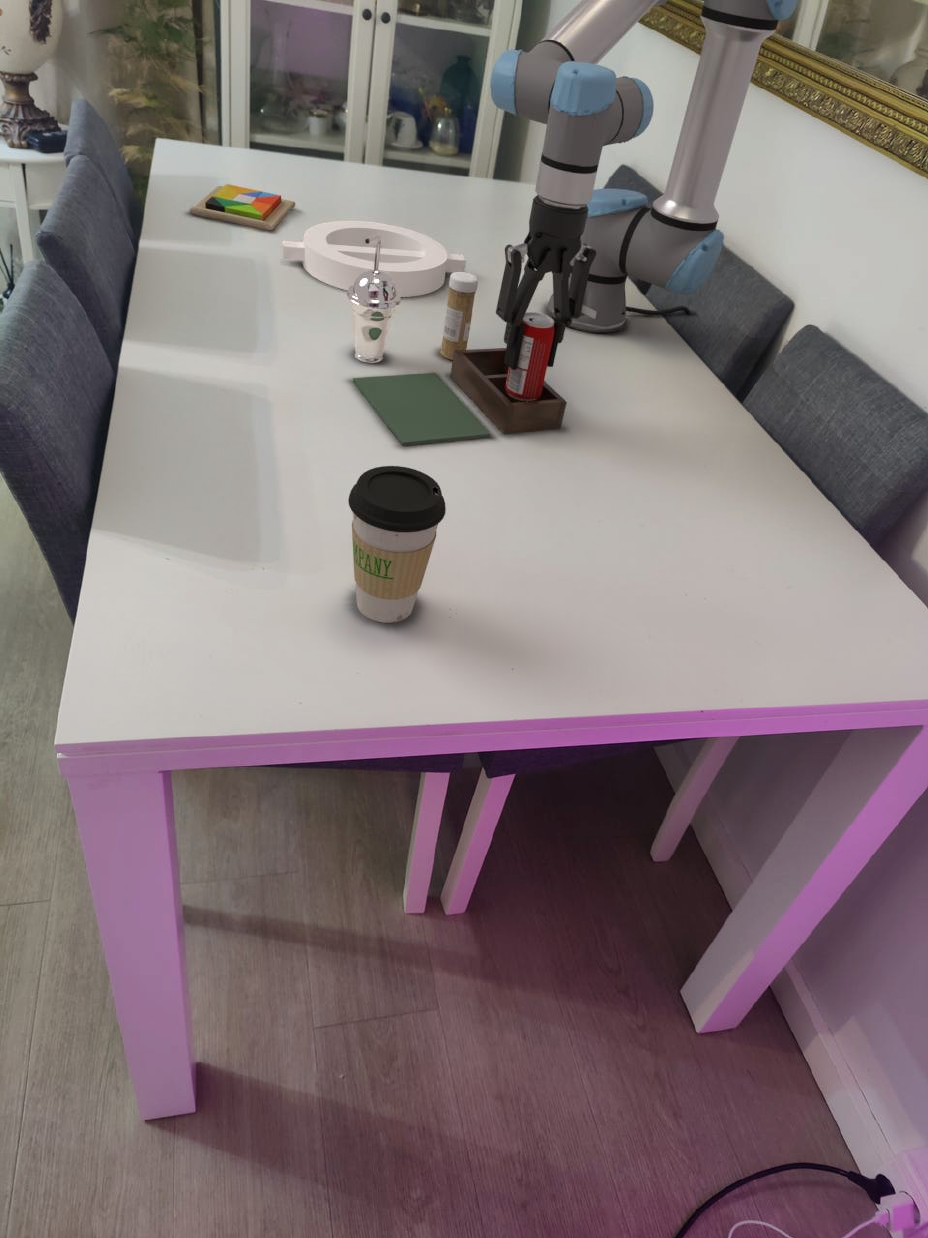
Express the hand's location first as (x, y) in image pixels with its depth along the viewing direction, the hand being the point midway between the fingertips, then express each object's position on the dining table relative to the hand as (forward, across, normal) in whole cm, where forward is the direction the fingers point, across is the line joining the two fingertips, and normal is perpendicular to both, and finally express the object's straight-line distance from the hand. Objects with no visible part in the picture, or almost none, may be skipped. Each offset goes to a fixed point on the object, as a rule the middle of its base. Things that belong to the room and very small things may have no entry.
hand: (528, 363), depth 134 cm
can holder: (+8, 0, -4) cm, 9 cm away
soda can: (+5, 0, 0) cm, 5 cm away
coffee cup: (+8, +37, +38) cm, 54 cm away
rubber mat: (+8, +15, -4) cm, 18 cm away
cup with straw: (+9, +16, -22) cm, 29 cm away
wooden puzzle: (+9, +17, -93) cm, 95 cm away
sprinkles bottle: (+9, +1, -21) cm, 23 cm away
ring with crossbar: (+9, 0, -60) cm, 61 cm away
